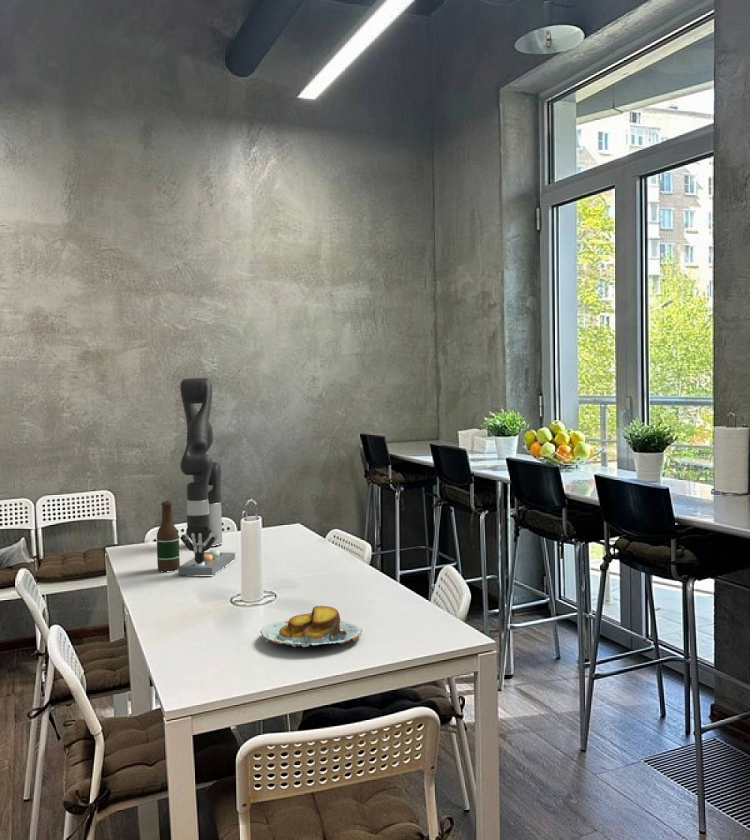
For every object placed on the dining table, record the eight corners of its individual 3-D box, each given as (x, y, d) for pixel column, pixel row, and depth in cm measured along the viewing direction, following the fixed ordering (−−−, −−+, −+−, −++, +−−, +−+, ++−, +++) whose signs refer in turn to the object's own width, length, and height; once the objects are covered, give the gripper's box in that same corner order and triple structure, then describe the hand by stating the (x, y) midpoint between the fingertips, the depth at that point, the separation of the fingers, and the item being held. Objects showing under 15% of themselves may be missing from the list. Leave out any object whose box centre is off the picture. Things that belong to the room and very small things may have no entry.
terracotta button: (204, 562, 271) (204, 554, 271) (214, 562, 270) (214, 554, 270) (200, 565, 267) (200, 556, 267) (210, 565, 267) (210, 556, 266)
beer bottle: (176, 572, 263) (174, 503, 262) (154, 572, 263) (152, 503, 262) (182, 567, 271) (180, 499, 270) (161, 567, 271) (158, 500, 270)
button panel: (203, 560, 281) (203, 552, 281) (235, 560, 279) (235, 552, 279) (178, 575, 259) (178, 567, 259) (212, 576, 257) (212, 567, 257)
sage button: (211, 558, 278) (211, 549, 277) (221, 558, 277) (221, 550, 277) (208, 560, 274) (207, 552, 274) (217, 560, 273) (217, 552, 273)
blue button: (196, 570, 264) (196, 561, 264) (206, 570, 263) (206, 561, 263) (192, 572, 260) (192, 564, 260) (202, 573, 260) (202, 564, 260)
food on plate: (243, 637, 197) (243, 612, 196) (324, 617, 212) (323, 594, 212) (296, 665, 177) (296, 637, 176) (381, 641, 192) (381, 615, 192)
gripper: (220, 511, 263) (222, 560, 264) (184, 510, 265) (185, 560, 266) (212, 514, 256) (214, 566, 257) (175, 514, 258) (176, 565, 259)
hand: (199, 563), depth 261 cm, fingers closed
